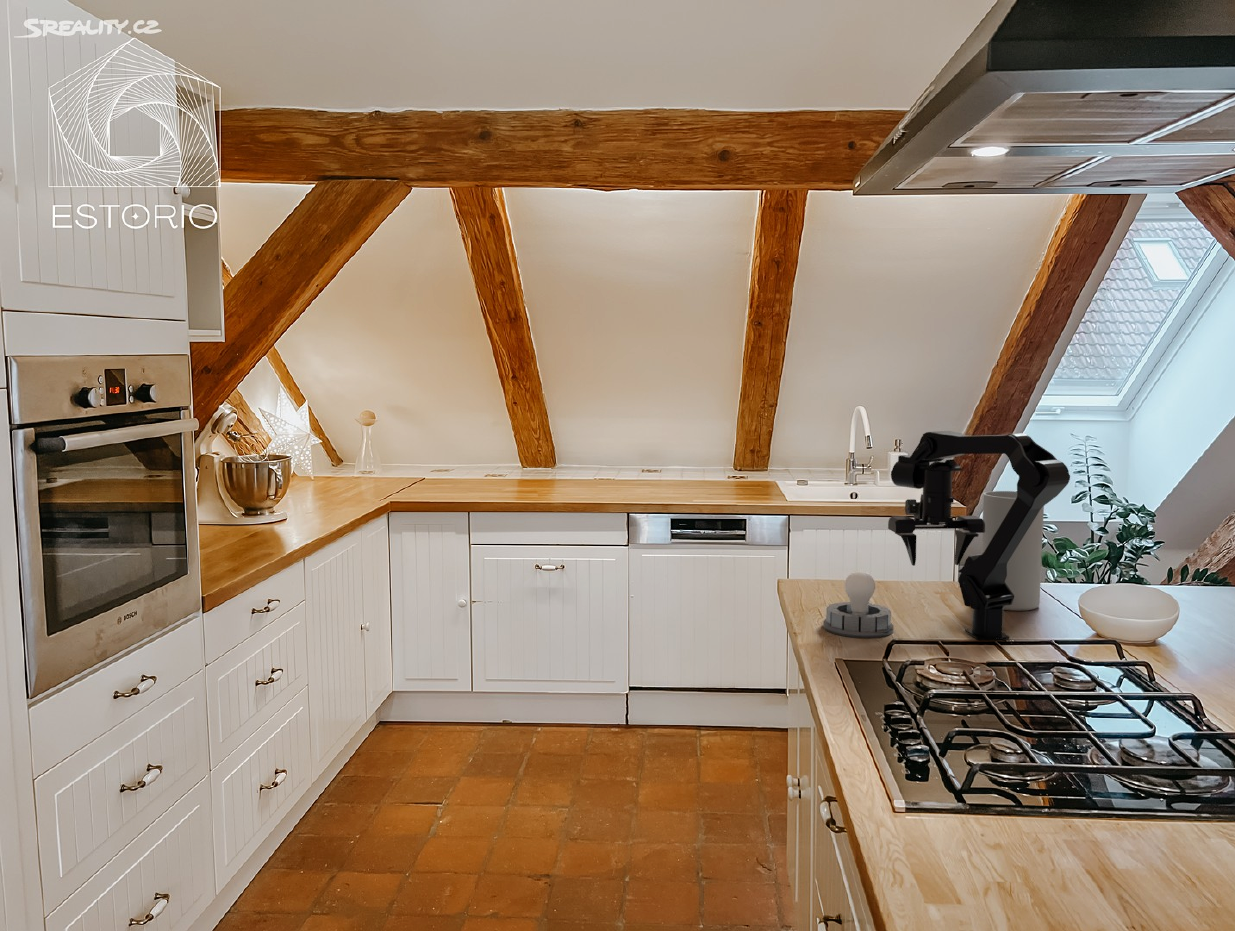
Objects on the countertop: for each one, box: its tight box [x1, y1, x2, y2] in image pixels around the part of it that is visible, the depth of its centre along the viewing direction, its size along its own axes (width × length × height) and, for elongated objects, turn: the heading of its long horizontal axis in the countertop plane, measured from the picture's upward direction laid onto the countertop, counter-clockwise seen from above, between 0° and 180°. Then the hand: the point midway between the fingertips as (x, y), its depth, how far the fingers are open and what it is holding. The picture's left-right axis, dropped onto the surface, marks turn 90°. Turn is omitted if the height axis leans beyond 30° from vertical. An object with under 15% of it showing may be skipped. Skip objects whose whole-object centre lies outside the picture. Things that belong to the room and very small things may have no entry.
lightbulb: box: [844, 570, 876, 615], centre depth 198 cm, size 6×6×11 cm
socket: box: [822, 601, 895, 639], centre depth 199 cm, size 14×14×4 cm
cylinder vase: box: [981, 490, 1045, 612], centre depth 217 cm, size 12×12×25 cm
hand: (934, 565), depth 204 cm, fingers open, 9 cm apart
